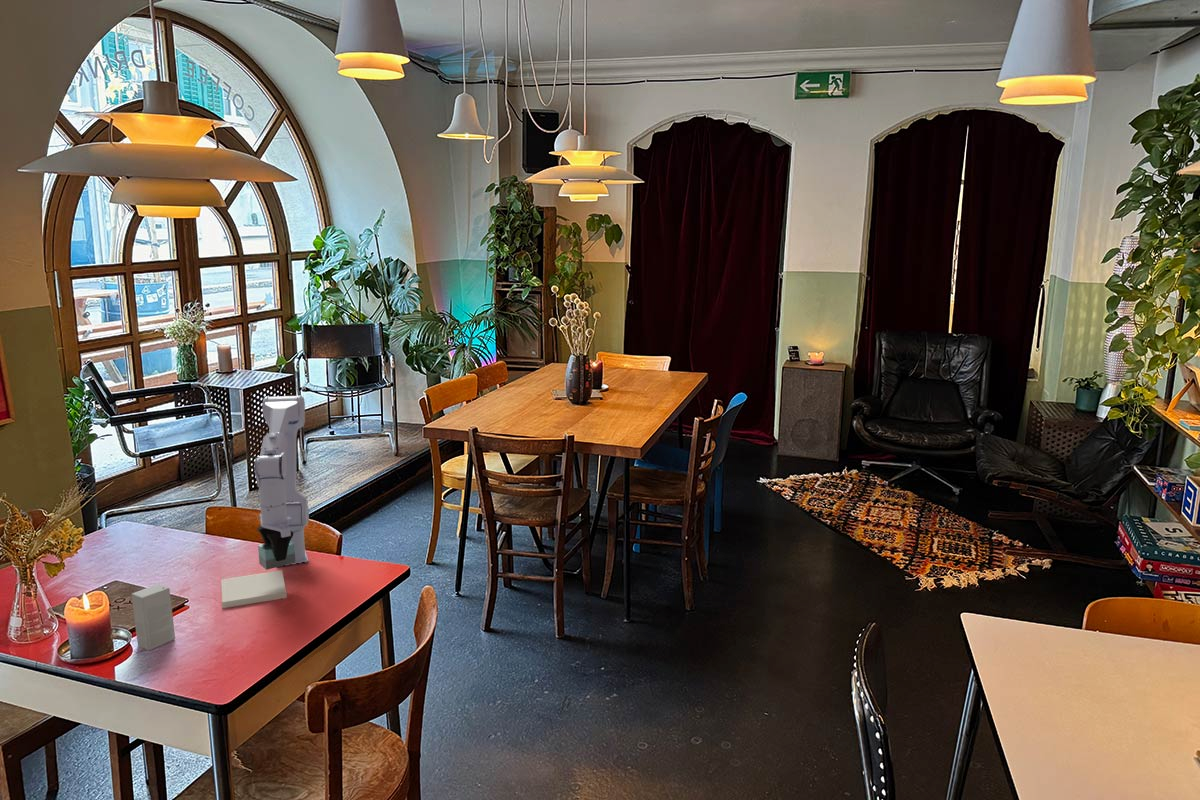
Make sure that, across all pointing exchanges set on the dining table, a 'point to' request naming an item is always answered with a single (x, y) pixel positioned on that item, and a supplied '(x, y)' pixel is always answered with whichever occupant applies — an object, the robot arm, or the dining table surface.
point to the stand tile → (253, 589)
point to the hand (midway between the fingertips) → (277, 556)
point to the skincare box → (153, 616)
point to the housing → (269, 559)
